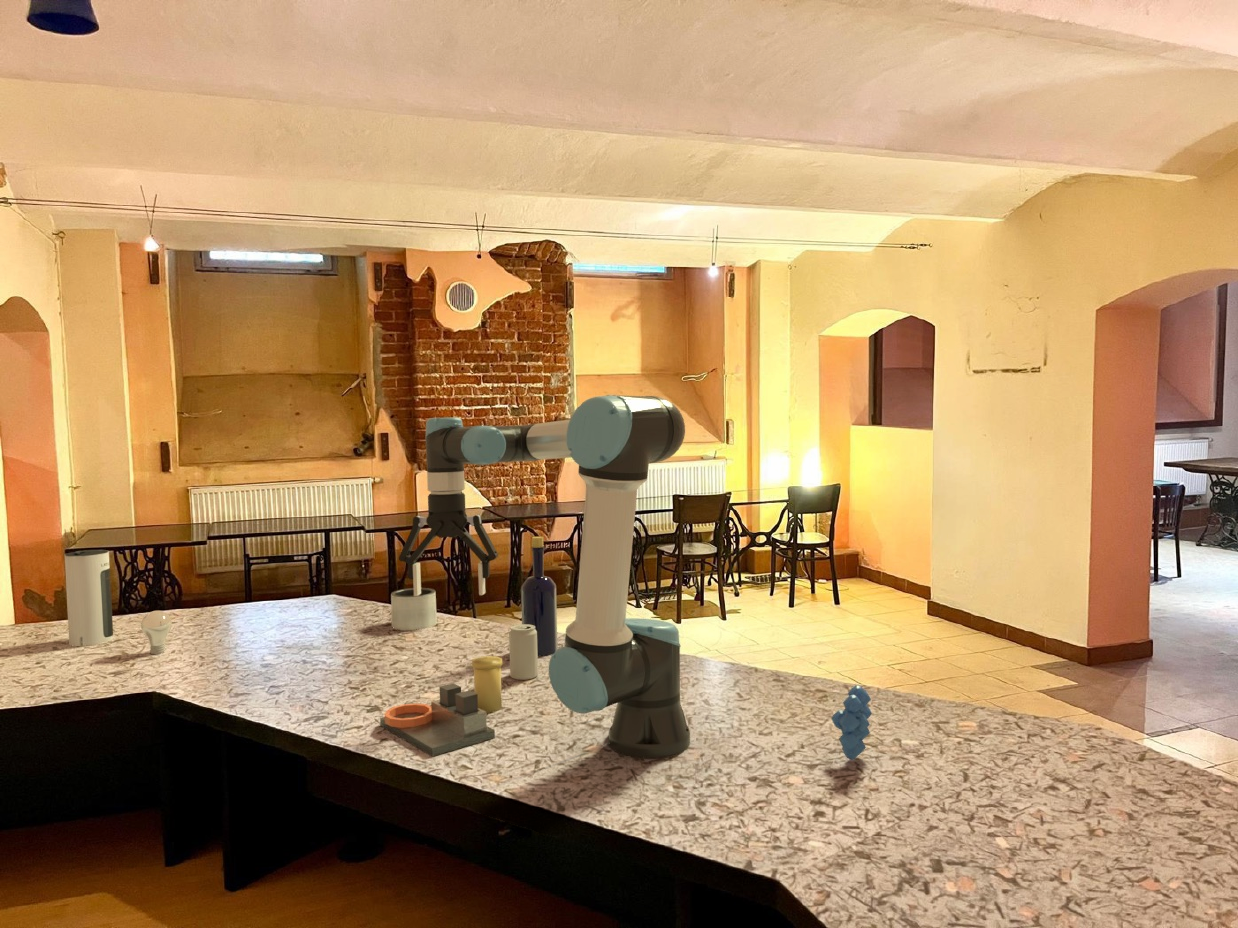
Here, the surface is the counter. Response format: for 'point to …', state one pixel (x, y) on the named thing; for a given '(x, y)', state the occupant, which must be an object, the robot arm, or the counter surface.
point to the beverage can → (523, 652)
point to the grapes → (853, 722)
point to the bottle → (540, 602)
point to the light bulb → (156, 630)
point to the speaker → (88, 597)
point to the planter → (413, 609)
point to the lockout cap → (488, 683)
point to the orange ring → (408, 721)
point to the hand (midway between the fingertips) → (449, 594)
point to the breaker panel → (444, 729)
